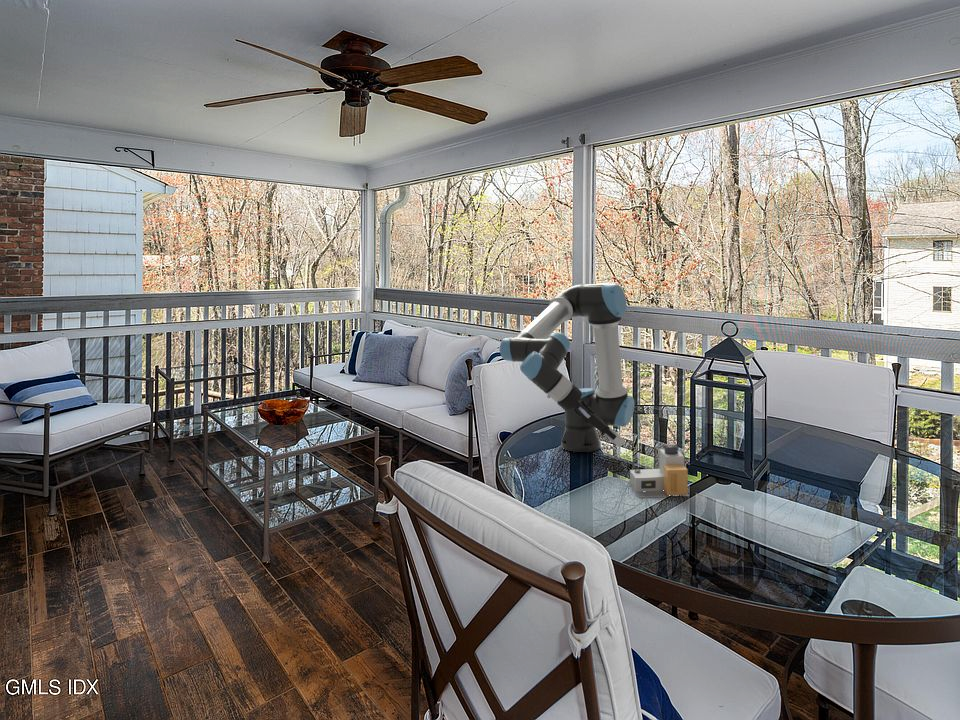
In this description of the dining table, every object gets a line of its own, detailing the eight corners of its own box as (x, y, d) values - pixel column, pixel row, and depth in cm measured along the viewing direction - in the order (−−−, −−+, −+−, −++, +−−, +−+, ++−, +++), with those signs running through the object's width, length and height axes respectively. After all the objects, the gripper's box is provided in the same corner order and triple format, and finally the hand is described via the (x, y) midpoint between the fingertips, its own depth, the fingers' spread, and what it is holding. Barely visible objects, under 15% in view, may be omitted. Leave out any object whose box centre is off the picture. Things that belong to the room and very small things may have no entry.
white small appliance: (639, 498, 173) (639, 457, 171) (629, 483, 185) (629, 444, 183) (689, 496, 173) (689, 455, 171) (676, 481, 185) (676, 442, 183)
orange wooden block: (668, 496, 172) (667, 470, 171) (663, 489, 177) (663, 465, 176) (688, 495, 172) (688, 469, 171) (682, 489, 177) (682, 464, 176)
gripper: (553, 397, 177) (609, 445, 179) (558, 407, 164) (618, 460, 166) (570, 379, 176) (625, 428, 178) (576, 388, 163) (636, 441, 165)
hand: (621, 443), depth 172 cm, fingers closed
